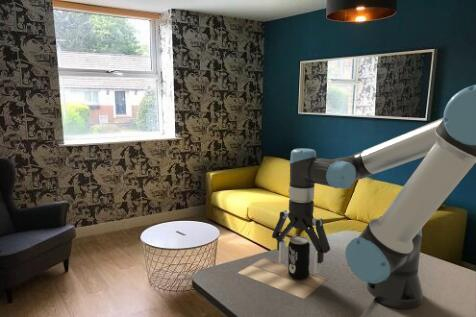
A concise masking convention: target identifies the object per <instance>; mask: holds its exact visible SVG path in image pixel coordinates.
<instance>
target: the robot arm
mask: <svg viewBox="0 0 476 317" xmlns="http://www.w3.org/2000/svg"><path fill="white" fill-rule="evenodd" d="M422 158H423V159H422ZM419 159H422V160H421V162H420V164H419V165H418V166H417V168H416V169H415V170H414V172H413V173H412V174H411V176H410V177H409V178H408V180H407V182H405V184H404V185H403V186H402V188H401V189H400V190H399V192H398V193H397V195H396V196H395V198H394V199H393V200H392V201H391V202H390V205H389V206H388V207H387V208H386V210H385V211H384V213H383V214H382V215H381V216H378V218H377V217H374V218H372V219H371V220H370V221H369V223H368V224H367V225H366V227H365V228H364V229H363V231H362V232H361V233H360V234H359V235H358V236H357V237H356V238H353V239H352V240H351V241H349V243H348V244H347V245H346V247H345V253H344V254H345V260H346V262H347V266H348V267H349V270H350V271H351V272H352V273H353V274H354V275H355V276H356V278H358V279H359V280H361V281H363V282H365V283H366V289H367V292H369V294H370V295H371V296H373V297H374V299H373V300H374V301H375V302H378V303H380V304H382V305H384V306H387V307H390V308H395V309H404V310H405V309H406V310H407V309H408V310H410V309H416V308H417V307H419V306H421V305H422V303H423V298H424V292H423V289H422V284H421V280H420V276H419V266H420V256H421V248H422V247H421V245H422V237H423V234H422V233H423V227H424V226H425V225H426V223H427V222H428V221H429V220H430V219H431V218H432V217H433V215H434V214H435V212H437V210H438V209H439V208H440V207H441V205H442V204H443V203H444V201H445V200H446V199H447V198H448V197H449V195H450V194H451V193H452V192H453V191H454V190H455V188H456V187H457V186H458V184H460V182H461V181H462V179H463V178H464V177H465V176H466V175H467V174H468V172H469V171H470V170H471V169H472V168H473V166H474V165H475V164H476V84H473V85H471V86H467V87H465V88H463V89H461V90H459V91H458V92H457V93H455V94H454V95H453V96H452V97H451V98H450V99H449V101H447V104H446V106H445V108H444V111H443V117H442V118H439V119H437V120H435V121H432V122H429V123H427V124H425V125H423V126H420V127H418V128H415V129H413V130H410V131H407V132H406V133H403V134H400V135H398V136H396V137H393V138H391V139H389V140H386V141H384V142H381V143H378V144H376V145H374V146H372V147H369V148H367V149H364V150H362V151H359V152H357V153H353V154H352V155H348V156H344V157H338V158H334V159H332V158H331V159H329V158H320V157H317V151H316V150H315V149H311V148H294V149H293V150H291V152H290V160H289V187H288V188H289V190H288V198H289V200H288V211H287V210H283V211H280V212H279V218H278V220H277V223H276V225H275V227H274V230H273V232H272V235H271V238H272V239H275V240H276V242H277V243H276V249H277V251H278V263H281V262H283V261H284V260H286V245H287V243H286V242H287V241H286V239H285V238H286V237H287V235H288V234H289V233H290V232H291V231H292V229H296V230H297V229H299V230H301V231H304V233H305V234H307V236H308V239H310V241H311V243H312V245H313V247H314V248H315V251H316V252H314V261H313V264H314V265H313V266H314V267H313V274H314V275H317V274H318V273H320V272H321V266H322V265H321V264H322V263H323V262H324V255H325V254H327V253H328V252H329V251H331V247H330V243H329V240H328V237H327V234H326V231H325V229H324V219H323V218H319V219H318V218H315V217H314V209H315V208H314V207H315V202H314V199H315V185H316V184H317V185H321V186H326V187H331V188H332V189H333V188H334V189H341V190H342V189H343V190H348V189H349V188H351V186H352V185H354V183H355V181H359V180H362V179H366V178H368V177H370V176H372V175H375V174H378V173H380V172H383V171H387V170H389V169H393V168H395V167H398V166H401V165H403V164H406V163H410V162H412V161H416V160H419ZM287 219H289V222H288V224H287V225H286V226H285V228H284V225H285V223H286V221H287ZM313 224H314V225H313ZM283 228H284V229H283ZM282 229H283V230H282ZM315 230H316V231H315Z"/></svg>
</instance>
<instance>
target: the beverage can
mask: <svg viewBox="0 0 476 317" xmlns="http://www.w3.org/2000/svg"><path fill="white" fill-rule="evenodd" d="M287 250H288V252H287V253H288V256H287V257H288V263H287V264H288V265H287V266H288V273H289V275H290V276H291V277H292V278H293V279H297V280H303V279H306V278H307V277H308V276H309V273H310V271H311V270H310V264H311V261H310V260H311V258H310V255H311V254H310V253H311V244H310V242H309V238H307V237H305V236H302V235H301V236H300V235H296V236H292V237H290V238H289V242H288V249H287Z"/></svg>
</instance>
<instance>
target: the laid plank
mask: <svg viewBox="0 0 476 317" xmlns="http://www.w3.org/2000/svg"><path fill="white" fill-rule="evenodd" d="M237 274H240V275H242V276H245V277H247V278H249V279H252V280H255V281H257V282H260V283H263V284H265V285H268V286H270V287H272V288H276V289H278V290H281V291H283V292H285V293H288V294H289V295H293V296H296V297H297V298H300V299H303V300H305V299H307V297H309V296H310V295H311V294H312V293H314V292H315V291H316V290H317V289H316V288H313V287H310V286H307V285H305V284H302V283H299V282H296V281H294V280H291V279H288V278H286V277H283V276H280V275H277V274H275V273H272V272H269V271H266V270H264V269H261V268H258V267H255V266H253V265H252V264H251V265H249V266H247V267H245V268H244V269H242V270H240V271H238V272H237Z"/></svg>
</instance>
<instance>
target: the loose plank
mask: <svg viewBox="0 0 476 317" xmlns="http://www.w3.org/2000/svg"><path fill="white" fill-rule="evenodd" d="M251 265H252V266H254V267H257V268H260V269H263V270H265V271H268V272H271V273H274V274H276V275H279V276H282V277H284V278H287V279H290V280H293V281H295V282H298V283H301V284H304V285H306V286H309V287H312V288H314V289H316V290H317V289H318V288H319V287H321V286H322V284H324V283H325V282H326V281H327V280H328V279H327V278H325V277H322V276H319V275H317V274H314V273H310V272H309V276H308V277H307V278H306V279H303V280H297V279H293V278H292V277H291V276H290V275H289V273H288V265H286V264H283V263H281V262H279V261H278V262H277V261H275V260H272V259H269V258H266V257H262V258H261V259H259V260H258V261H255V262H254V263H252V264H251Z"/></svg>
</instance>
